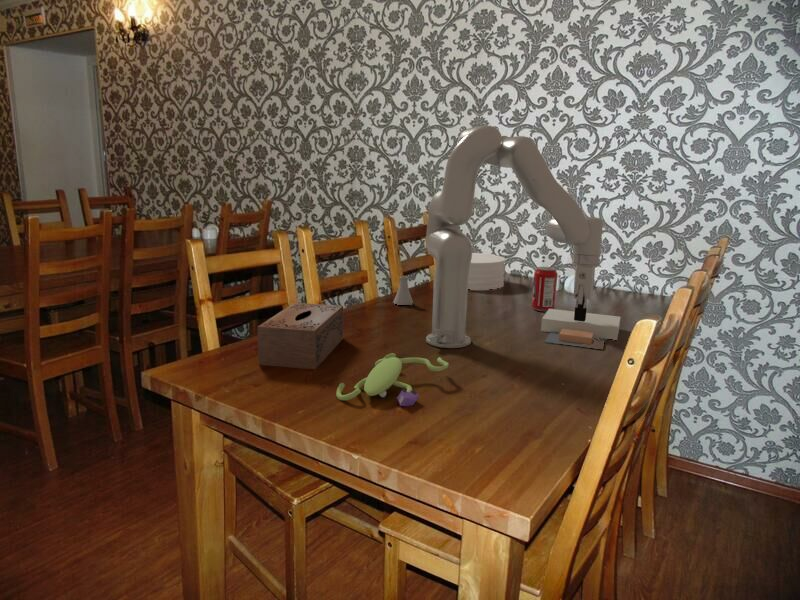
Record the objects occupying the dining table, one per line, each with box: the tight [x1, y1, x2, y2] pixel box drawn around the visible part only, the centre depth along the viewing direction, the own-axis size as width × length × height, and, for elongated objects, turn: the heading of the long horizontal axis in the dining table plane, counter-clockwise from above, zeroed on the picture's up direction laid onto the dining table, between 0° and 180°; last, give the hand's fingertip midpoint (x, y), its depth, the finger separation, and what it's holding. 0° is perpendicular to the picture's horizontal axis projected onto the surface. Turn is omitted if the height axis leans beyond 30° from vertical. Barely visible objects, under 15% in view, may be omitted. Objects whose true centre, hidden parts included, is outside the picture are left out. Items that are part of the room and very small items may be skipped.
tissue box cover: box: [256, 302, 344, 370], centre depth 150 cm, size 26×14×10 cm, turn 170°
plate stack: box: [468, 252, 506, 291], centre depth 244 cm, size 28×28×12 cm
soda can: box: [531, 266, 558, 313], centre depth 200 cm, size 8×8×15 cm
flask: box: [392, 275, 414, 306], centre depth 204 cm, size 7×7×10 cm
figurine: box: [335, 352, 449, 407], centre depth 128 cm, size 18×27×6 cm
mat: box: [544, 332, 607, 348], centre depth 166 cm, size 12×16×1 cm
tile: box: [559, 329, 594, 345], centre depth 166 cm, size 6×9×2 cm, turn 67°
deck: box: [540, 308, 622, 341], centre depth 177 cm, size 14×22×4 cm, turn 67°
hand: (579, 320), depth 171 cm, fingers closed
